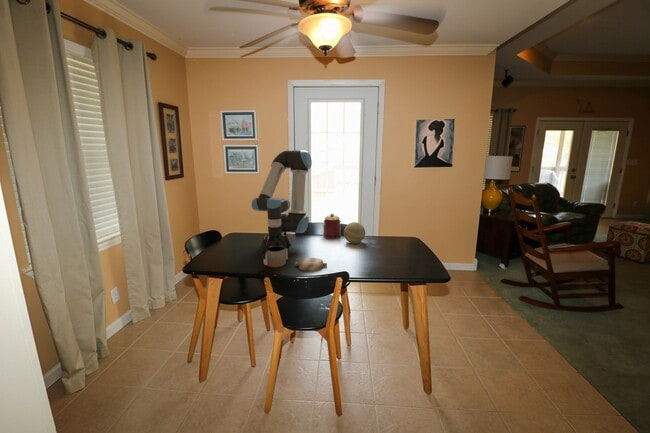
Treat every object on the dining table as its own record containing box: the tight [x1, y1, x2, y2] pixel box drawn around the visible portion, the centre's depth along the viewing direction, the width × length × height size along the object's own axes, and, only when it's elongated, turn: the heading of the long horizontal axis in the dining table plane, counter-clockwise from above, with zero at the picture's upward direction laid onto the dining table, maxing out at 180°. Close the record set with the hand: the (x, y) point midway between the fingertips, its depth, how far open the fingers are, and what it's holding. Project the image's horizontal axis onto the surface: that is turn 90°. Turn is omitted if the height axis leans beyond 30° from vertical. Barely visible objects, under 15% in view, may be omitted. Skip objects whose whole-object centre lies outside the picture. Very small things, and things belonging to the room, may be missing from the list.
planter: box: [266, 246, 287, 268], centre depth 177 cm, size 11×11×10 cm
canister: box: [323, 213, 342, 239], centre depth 231 cm, size 13×13×18 cm
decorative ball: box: [343, 221, 366, 245], centre depth 215 cm, size 15×15×15 cm
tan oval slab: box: [294, 257, 328, 272], centre depth 174 cm, size 18×14×2 cm
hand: (275, 261), depth 177 cm, fingers open, 13 cm apart
